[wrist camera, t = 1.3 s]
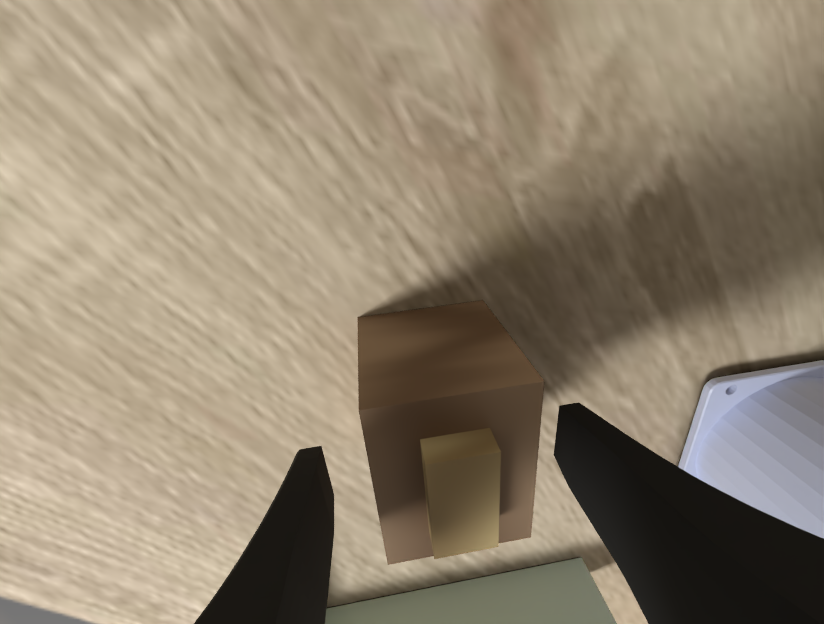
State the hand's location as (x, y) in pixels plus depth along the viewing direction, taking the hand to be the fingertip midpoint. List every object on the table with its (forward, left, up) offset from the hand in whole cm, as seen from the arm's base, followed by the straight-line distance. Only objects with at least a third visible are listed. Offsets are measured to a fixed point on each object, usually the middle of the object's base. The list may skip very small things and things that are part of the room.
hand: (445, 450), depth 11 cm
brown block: (0, 0, -4) cm, 4 cm away
